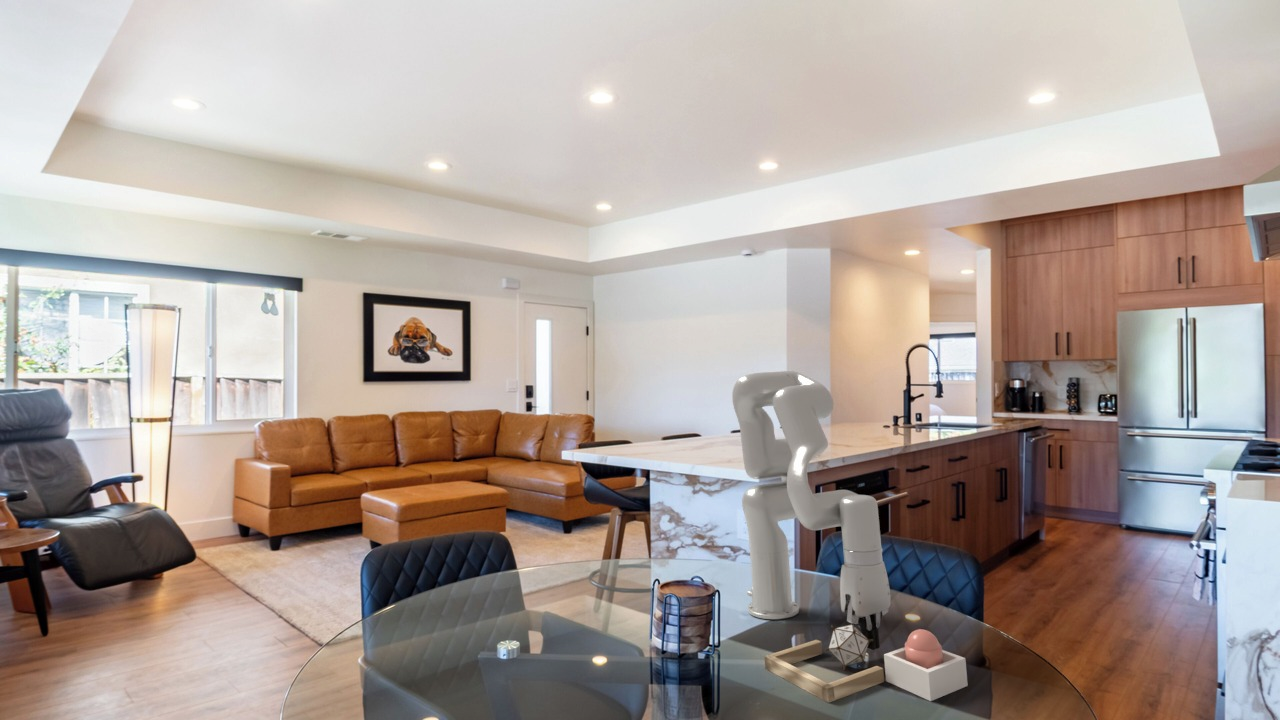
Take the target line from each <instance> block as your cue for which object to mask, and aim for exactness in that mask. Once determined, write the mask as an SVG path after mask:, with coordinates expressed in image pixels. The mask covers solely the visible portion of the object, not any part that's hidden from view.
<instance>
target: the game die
mask: <svg viewBox="0 0 1280 720" xmlns="http://www.w3.org/2000/svg"><path fill="white" fill-rule="evenodd" d="M830 627H831V629H833V630H832V633H831V637H830V641H829V644H828V647H825V648H824V651H825V652H826V651H829V652H830V653H831V654H832V655H833V656H834V657H835V658H836V659H837V660H838V661H839V662H840V663H841V664H842V665H843V667H842V669H843V670H842V671H845V670H846V668H847V667H846V666H850V665H855V664H859V663H863V665H866V666H867V662H866V661H865V657H866V656H867V655H866V654H867V651H868V649H869V648H868V644H869V642H872V641H873V639H870V640H868V639H867V638H866V637H865V636H864V635H863V634H862V633H861V630H859V629H858V627H856V626H855V625H854V624H852V623H850V624H847V625H842V626H838V627H835V626H834V625H830Z"/></svg>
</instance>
